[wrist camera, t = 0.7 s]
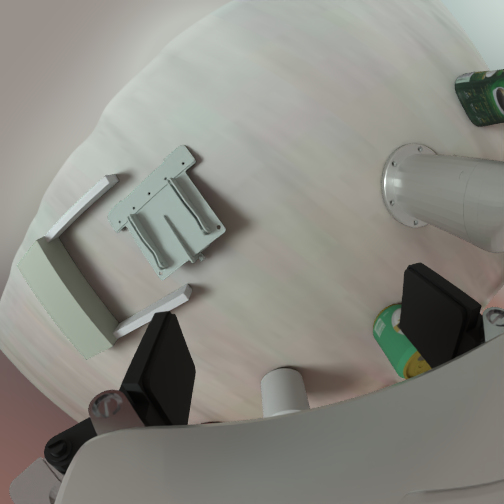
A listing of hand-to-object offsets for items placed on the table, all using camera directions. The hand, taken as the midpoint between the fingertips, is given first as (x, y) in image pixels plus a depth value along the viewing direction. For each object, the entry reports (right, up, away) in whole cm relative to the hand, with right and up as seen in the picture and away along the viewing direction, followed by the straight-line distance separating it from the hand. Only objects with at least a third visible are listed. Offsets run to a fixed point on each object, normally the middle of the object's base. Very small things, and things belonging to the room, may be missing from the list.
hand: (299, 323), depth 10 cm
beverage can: (+22, -9, +32) cm, 40 cm away
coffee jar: (+36, +30, +19) cm, 51 cm away
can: (+3, -20, +35) cm, 41 cm away
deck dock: (-25, 0, +27) cm, 37 cm away
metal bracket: (-13, +8, +26) cm, 30 cm away
